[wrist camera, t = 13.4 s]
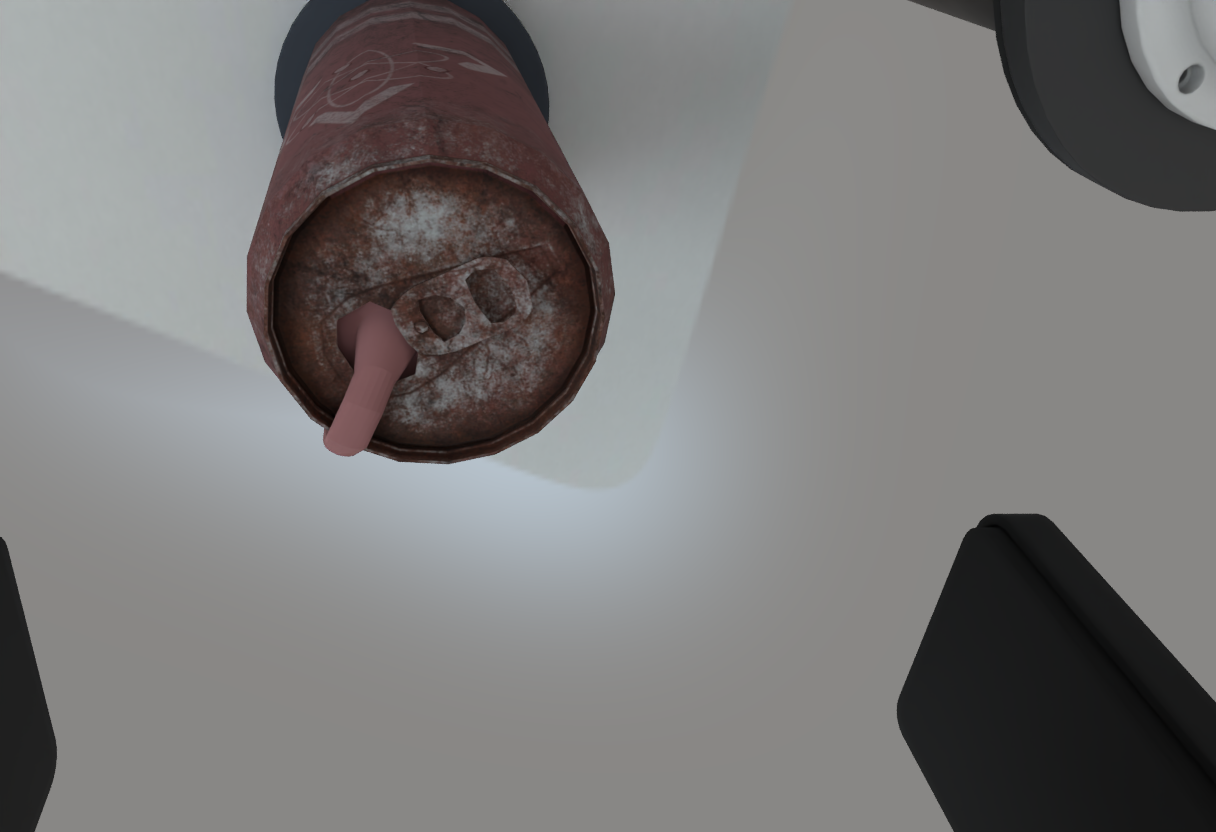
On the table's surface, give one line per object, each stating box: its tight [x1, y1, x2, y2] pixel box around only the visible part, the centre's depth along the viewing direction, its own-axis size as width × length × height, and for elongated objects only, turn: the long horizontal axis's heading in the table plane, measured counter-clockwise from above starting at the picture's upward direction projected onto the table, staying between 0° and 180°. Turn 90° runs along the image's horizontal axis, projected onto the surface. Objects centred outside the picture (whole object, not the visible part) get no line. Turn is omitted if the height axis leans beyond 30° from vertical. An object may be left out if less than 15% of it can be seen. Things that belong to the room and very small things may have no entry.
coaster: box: [275, 0, 549, 139], centre depth 27 cm, size 8×8×1 cm
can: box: [247, 0, 615, 464], centre depth 21 cm, size 6×6×14 cm
